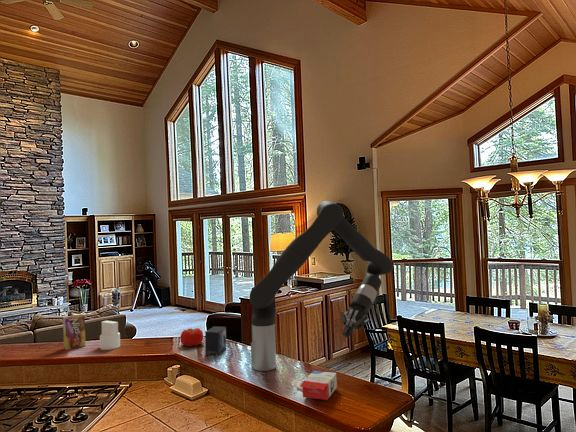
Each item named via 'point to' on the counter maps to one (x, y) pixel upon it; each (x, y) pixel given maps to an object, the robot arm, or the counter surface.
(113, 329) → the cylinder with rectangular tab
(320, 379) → the ink box
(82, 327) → the candy box
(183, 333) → the tomato
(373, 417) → the counter surface
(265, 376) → the counter surface
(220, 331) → the small box
